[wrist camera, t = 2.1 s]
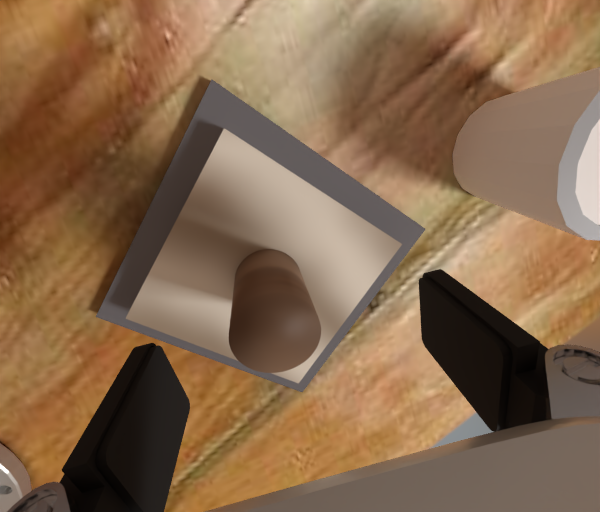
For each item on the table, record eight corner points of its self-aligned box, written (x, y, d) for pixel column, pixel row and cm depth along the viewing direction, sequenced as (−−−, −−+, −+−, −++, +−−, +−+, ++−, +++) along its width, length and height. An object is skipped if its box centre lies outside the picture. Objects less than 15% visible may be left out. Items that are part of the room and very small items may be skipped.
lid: (295, 370, 20) (314, 460, 14) (133, 306, 16) (72, 393, 11) (392, 237, 18) (461, 284, 12) (226, 129, 14) (210, 120, 8)
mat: (301, 386, 21) (302, 392, 21) (100, 311, 17) (95, 316, 16) (420, 226, 18) (425, 229, 18) (212, 81, 14) (211, 79, 13)
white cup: (447, 88, 15) (589, 50, 9) (562, 77, 16) (766, 35, 10) (437, 214, 18) (541, 254, 12) (536, 199, 19) (685, 229, 12)
